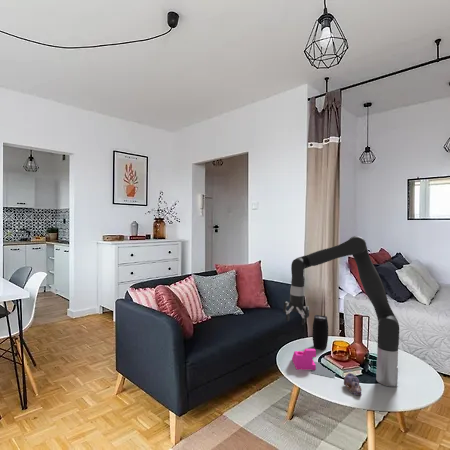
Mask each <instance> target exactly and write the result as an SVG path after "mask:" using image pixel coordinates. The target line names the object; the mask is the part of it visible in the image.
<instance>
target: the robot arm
mask: <svg viewBox="0 0 450 450" xmlns="http://www.w3.org/2000/svg"><path fill="white" fill-rule="evenodd" d="M347 256H352V257H353V259H354V261H355V264H356V266H357V272H358V275H359V279H360V282H361V285H362V288H363V290H364V292H365V295H366V297H367V298H368V299H369V301H370V303H371V305H372V306H373V308H374V311H375V315H376V317H377V349H376V350H377V351H376V373H375V374H376V376H375V377H376V382H377V383H379V384H381V385H383V386H386V387H398V383H399V382H398V380H399V377H398V376H399V366H398V364H399V344H400V324H399V321H398V319H397V317H396V315H395V313H394V311H393V309H392V308H391V306H390V303H389V300H388V297H387V292H386V290H385V286H384V283H383V282H382V279H381V277H380V275H379V272H378V271H377V268H376V267H375V265H374V264H373V261H372V259H371V257H370V254H369V251H368V247H367V242H366V240H365V238H363V237H361V236H359V235H354V236H352V237H350V238H349V239H348V240H346V241H344V242H342V243H340V244H338V245H335V246H332V247H327V248H323V249H320V250H317V251H314V252H311V253H308V254H305V255H303V256H299V257H296V258H295V259H293V260H292V261H291V265H290V266H291V267H290V268H291V271H290V272H291V283H290V284H291V285H290V292H289V301H285V302H284V303H283V310H282V312H283V314H285V317H286V318H285V320H286V322H290V318H291V317H290V316H291V314H290V313H291V312H292V313H298V314H299V315H300V316H301V325H302V326H304V324H306V319H307V318H309V317H310V306H309V305H307V306H306V305H304V302H305V301H304V300H305V276H304V275H305V274H304V273H305V269H308V268H310V267H315V266H316V267H317V266H320V265H323V264H325V263H328V262H330V261H334V260H336V259H339V258H343V257H347ZM288 307H289V309H288ZM303 309H304V310H303Z"/></svg>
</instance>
